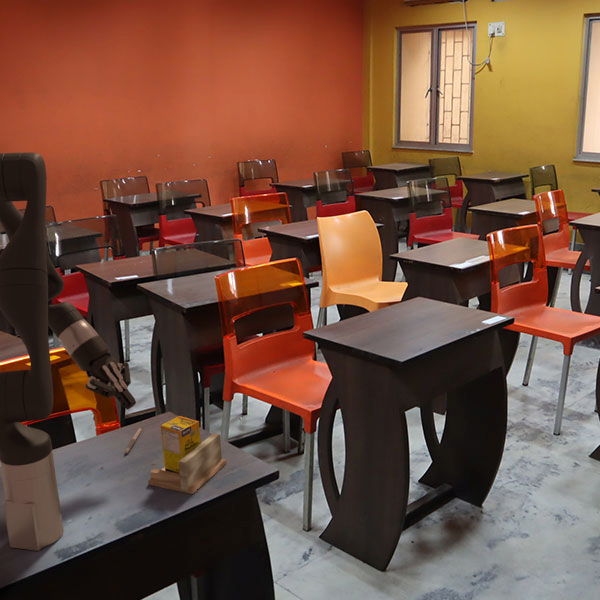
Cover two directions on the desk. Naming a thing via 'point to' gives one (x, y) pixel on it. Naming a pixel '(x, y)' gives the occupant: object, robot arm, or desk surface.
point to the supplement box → (179, 441)
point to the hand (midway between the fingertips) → (132, 406)
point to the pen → (133, 439)
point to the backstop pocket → (192, 468)
